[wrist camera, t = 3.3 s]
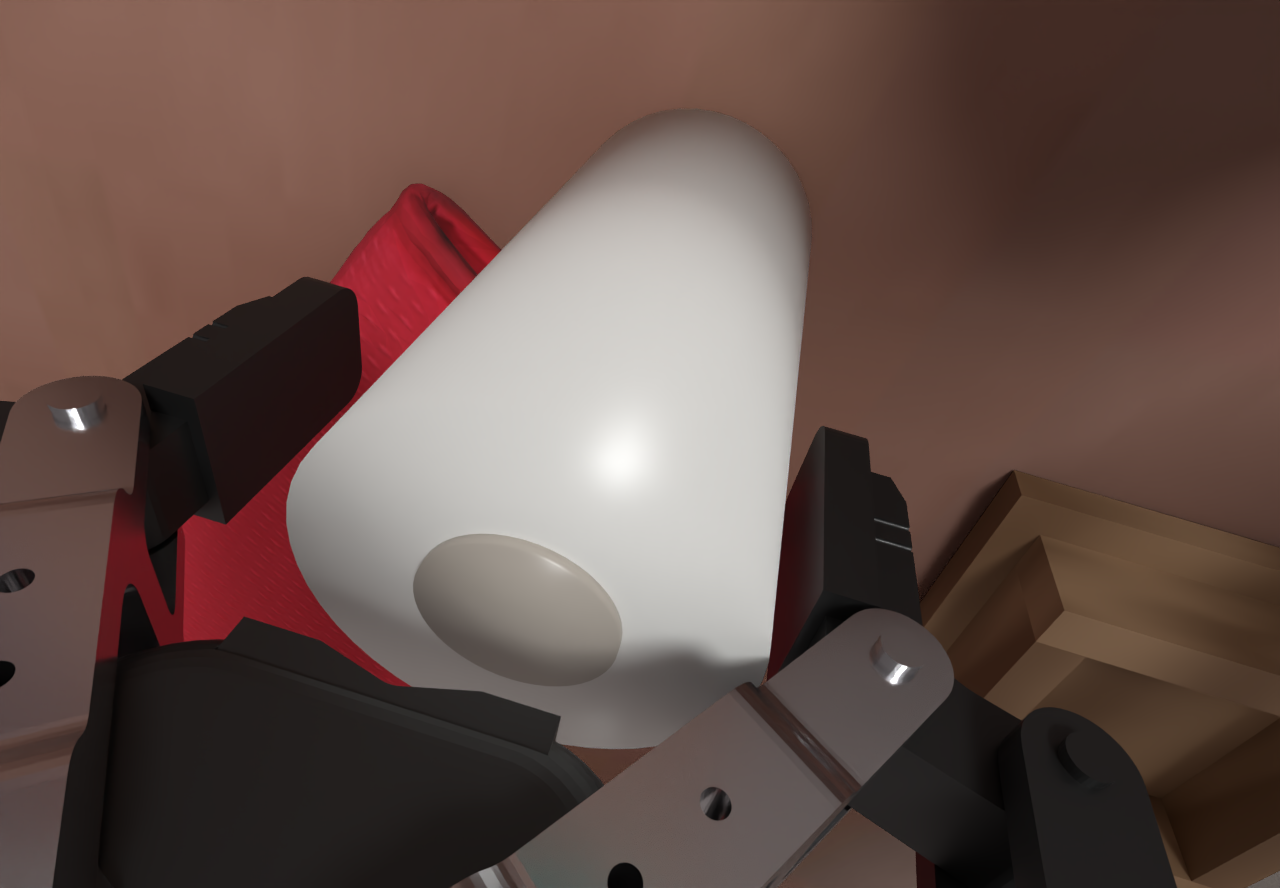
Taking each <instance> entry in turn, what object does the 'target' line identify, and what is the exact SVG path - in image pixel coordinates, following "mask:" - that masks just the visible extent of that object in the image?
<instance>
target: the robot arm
mask: <svg viewBox="0 0 1280 888" xmlns="http://www.w3.org/2000/svg"><path fill="white" fill-rule="evenodd" d="M361 375H362V358H361V343H360V328H359V313H358V301H357V297H356V295H355V293H354V292H353V291H352V290H351V289H349V288H345V287H342V286H338V285H335V284H331V283H328V282H324V281H321V280H317V279H314V278H310V277H303V278H301V279H299V280H297V281H296V282H294V283H293V284H291V285H290V286H288V287H287V288H285V289H284V290H282V291H281V292H279V293H278V294H276V295H275V296H273V297H270V296H268V297H264V298H261V299H258V300H255V301H251V302H248V303H245V304H242V305H238V306H236V307H234V308H233V309H231V310H230V311H228V312H227V313H225V314H223V315H222V316H220V317H219V318H217V319H216V320H214V321H213V324H212V325H209V324H208V325H206V326H205V327H203V328H202V329H200V330H199V331H197V332H195V333H194V334H193V338H190V337H188V338H186V339H185V340H183V341H181V342H180V343H178V344H177V345H175V346H174V347H172V348H170V349H169V350H167V351H166V352H164V353H163V354H161V355H160V356H158V357H156V358H155V359H153V360H152V361H150V362H149V363H147V364H146V365H144V366H142V367H141V368H139V369H138V370H136V371H135V372H133V373H132V374H130V375H128V376H127V377H125V378H124V379H122V380H120V379H117V378H112V377H106V376H80V377H72V378H66V379H61V380H58V381H54V382H50V383H48V384H45V385H42V386H40V387H38V388H36V389H33V390H31V391H30V392H28V393H27V394H25V395H23V396H22V397H21V398H20V399H19V400H17V401H16V402H8V401H0V888H777V887H778V886H779V885H780V884H781V883H782V882H783V881H784V880H785V879H786V878H787V877H788V876H789V875H790V874H791V872H792V871H793V870H794V869H795V868H796V867H797V866H798V865H799V864H800V863H801V862H802V861H803V860H804V859H805V858H806V857H807V856H808V854H809V853H810V852H811V851H812V850H813V849H814V848H815V847H816V846H817V845H818V844H819V843H820V842H821V841H822V840H823V839H824V838H825V836H826V835H827V834H828V833H829V832H830V831H831V830H832V829H833V828H834V827H835V826H836V825H837V824H838V823H839V822H840V821H841V820H842V818H843V817H844V816H845V815H846V814H847V813H848V812H849V811H850V810H851V809H852V808H853V809H854V810H856V811H857V812H859V813H860V814H862V815H863V816H865V817H866V818H868V819H869V820H870V821H872V822H873V823H875V824H876V825H878V826H879V827H881V828H882V829H884V830H885V831H887V832H888V833H890V834H891V835H893V836H894V837H895V838H897V839H898V840H900V841H901V842H903V843H904V844H906V845H907V846H909V847H910V848H912V849H913V850H915V851H916V874H917V888H1177V885H1176V882H1175V879H1174V876H1173V873H1172V869H1171V866H1170V863H1169V860H1168V856H1167V853H1166V850H1165V847H1164V844H1163V840H1162V837H1161V834H1160V831H1159V827H1158V824H1157V821H1156V818H1155V815H1154V811H1153V808H1152V805H1151V802H1150V798H1149V795H1148V792H1147V789H1146V786H1145V783H1144V781H1143V778H1142V776H1141V774H1140V772H1139V770H1138V769H1137V767H1136V765H1135V764H1134V762H1133V761H1132V759H1131V758H1130V756H1129V755H1128V754H1127V753H1126V751H1125V750H1124V749H1123V748H1122V747H1121V746H1120V745H1119V744H1118V743H1117V742H1116V741H1115V740H1114V739H1113V738H1112V737H1111V736H1110V735H1109V734H1108V733H1106V732H1105V731H1104V730H1103V729H1102V728H1100V727H1099V726H1097V725H1096V724H1094V723H1093V722H1091V721H1090V720H1088V719H1086V718H1084V717H1082V716H1081V715H1078V714H1076V713H1074V712H1071V711H1068V710H1064V709H1061V708H1054V707H1044V708H1039V709H1036V710H1034V711H1032V712H1031V713H1029V714H1028V715H1027V716H1026V717H1025V718H1024V719H1023V720H1020V719H1018V718H1016V717H1015V716H1013V715H1011V714H1010V713H1008V712H1006V711H1004V710H1003V709H1001V708H999V707H998V706H996V705H994V704H993V703H991V702H989V701H987V700H986V699H984V698H982V697H981V696H979V695H977V694H976V693H974V692H973V691H971V690H969V689H968V688H966V687H965V686H964V685H962V684H961V683H960V682H959V681H957V680H956V679H955V678H954V673H953V668H952V664H951V661H950V659H949V657H948V655H947V653H946V651H945V650H944V648H943V647H942V645H941V644H940V643H939V642H938V640H937V639H936V638H935V637H934V636H933V635H932V634H931V633H930V632H929V631H928V630H927V629H925V628H924V627H923V624H922V617H921V609H920V602H919V594H918V587H917V579H916V572H915V564H914V557H913V552H911V549H912V542H911V534H910V532H909V531H908V530H909V519H908V512H907V504H906V501H905V500H904V498H903V497H902V495H901V493H900V492H899V490H898V489H897V487H896V485H895V484H894V482H893V481H892V479H891V478H890V477H887V476H883V475H880V474H876V473H873V472H871V469H870V456H869V444H868V440H867V439H866V438H863V437H859V436H856V435H852V434H849V433H845V432H842V431H838V430H835V429H831V428H828V427H825V426H822V427H820V428H819V430H818V431H817V433H816V435H815V437H814V439H813V442H812V444H811V446H810V448H809V450H808V453H807V455H806V457H805V459H804V462H803V464H802V466H801V468H800V471H799V473H798V475H797V477H796V480H795V482H794V484H793V486H792V488H791V491H790V493H789V495H788V498H787V501H786V504H785V511H784V521H783V531H782V541H781V551H780V561H779V571H778V580H777V590H776V600H775V610H774V620H773V630H772V640H771V649H770V657H769V664H768V672H767V682H765V683H764V684H763V685H761V686H759V687H757V688H756V687H755V685H754V684H753V683H751V682H746V683H743V684H741V685H739V686H738V687H736V688H734V689H733V690H732V691H730V692H729V693H727V694H726V695H725V696H723V697H722V698H721V699H719V700H718V701H717V702H715V703H714V704H713V705H711V706H710V707H709V708H707V709H706V710H705V711H703V712H702V713H701V714H699V715H698V716H697V717H695V718H694V719H693V720H691V721H690V722H689V723H687V724H686V725H685V726H683V727H682V728H681V729H679V730H678V731H677V732H675V733H674V734H673V735H671V736H670V737H669V738H667V739H666V740H665V741H663V742H662V743H660V744H659V745H658V746H656V747H655V748H654V749H652V750H651V751H650V752H648V753H647V754H646V755H644V756H643V757H642V758H640V759H639V760H638V761H636V762H635V763H634V764H632V765H631V766H630V767H628V768H627V769H626V770H624V771H623V772H622V773H620V774H619V775H618V776H616V777H615V778H614V779H612V780H611V781H610V782H608V783H607V784H606V785H604V784H603V783H602V782H601V780H600V779H599V778H598V777H597V776H596V775H595V774H594V772H593V771H592V770H591V769H590V768H589V767H588V766H587V765H586V764H585V763H584V762H583V761H582V760H580V759H579V758H578V757H577V756H576V755H574V754H573V753H572V752H571V751H570V750H568V749H567V748H565V747H564V746H562V745H561V744H559V743H557V742H556V736H557V732H558V728H559V723H560V719H561V716H558V715H555V714H552V713H549V712H546V711H543V710H539V709H536V708H533V707H530V706H527V705H524V704H520V703H517V702H514V701H511V700H508V699H505V698H501V697H498V696H495V695H492V694H489V693H486V692H482V691H469V690H454V689H439V688H423V687H408V686H396V685H391V684H388V683H386V682H384V681H382V680H380V679H379V678H377V677H376V676H374V675H373V674H371V673H370V672H368V671H367V670H365V669H364V668H362V667H361V666H359V665H357V664H356V663H354V662H353V661H351V660H350V659H348V658H347V657H345V656H344V655H342V654H341V653H339V652H338V651H336V650H334V649H333V648H331V647H330V646H328V645H327V644H325V643H324V642H322V641H321V640H318V639H314V638H311V637H308V636H305V635H302V634H299V633H295V632H292V631H289V630H286V629H283V628H280V627H276V626H273V625H270V624H267V623H264V622H261V621H257V620H254V619H251V618H248V617H245V616H244V617H243V618H242V619H241V621H240V622H239V623H238V624H237V625H236V626H235V628H234V629H233V630H232V631H231V632H230V634H229V635H228V636H227V637H226V638H225V639H224V640H223V639H211V640H193V641H186V642H184V635H183V620H184V574H185V535H184V532H183V529H182V525H183V524H184V523H185V522H186V521H187V520H189V519H190V518H191V517H192V516H193V515H196V516H199V517H202V518H206V519H209V520H212V521H215V522H219V523H222V524H225V525H226V524H227V523H228V522H229V521H230V520H231V519H232V518H233V517H234V516H235V515H236V514H237V513H238V512H239V511H240V510H241V509H242V508H243V507H244V506H245V505H246V504H247V503H248V502H249V501H250V500H251V499H252V498H253V497H254V496H255V495H256V494H257V493H258V492H259V491H260V490H261V489H262V488H263V487H264V486H266V485H267V484H268V483H269V482H270V481H271V480H272V479H273V478H274V477H275V476H276V475H277V474H278V473H279V472H280V471H281V470H282V469H283V468H284V467H285V466H286V465H287V464H288V463H289V462H290V461H291V460H292V459H293V458H294V457H295V456H296V455H297V454H298V453H299V452H300V451H301V450H302V449H303V448H304V447H305V446H306V445H307V444H308V443H309V442H310V441H311V440H312V439H313V438H314V437H315V436H316V435H317V434H318V433H319V432H320V431H321V430H322V429H323V428H324V427H325V426H326V425H327V424H328V423H329V422H330V421H331V420H332V419H333V418H334V417H335V416H336V415H337V414H338V413H339V412H340V411H341V410H342V409H343V408H344V407H345V406H346V405H347V404H348V403H349V402H350V401H351V400H352V398H353V397H354V395H355V393H356V391H357V389H358V386H359V384H360V380H361Z"/></svg>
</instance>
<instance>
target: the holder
mask: <svg viewBox="0 0 1280 888" xmlns="http://www.w3.org/2000/svg"><path fill="white" fill-rule="evenodd" d="M920 609H921V617H922V624H923V627H924V628H925V629H927V630H928V631H929V632H930V633H931V634H932V635H933V636H934V637H935V638H936V639H937V640H938V642H939V643H940V644H941V645H942V647H943V648H944V650H945V651H946V653H947V655H948V657H949V659H950V661H951V664H952V668H953V673H954V678H955V679H956V680H957V681H959V682H960V683H961V684H962V685H964V686H965V687H966V688H968V689H969V690H971V691H973V692H974V693H976V694H977V695H979V696H981V697H982V698H984V699H986V700H987V701H989V702H991V703H993V704H994V705H996V706H998V707H999V708H1001V709H1003V710H1004V711H1006V712H1008V713H1010V714H1011V715H1013V716H1015V717H1016V718H1018V719H1020V720H1023V719H1024V718H1025V717H1026V716H1027V715H1028V714H1029V713H1031V712H1032V711H1034V710H1036V709H1039V708H1044V707H1054V708H1061V709H1064V710H1068V711H1071V712H1074V713H1076V714H1078V715H1081V716H1082V717H1084V718H1086V719H1088V720H1090V721H1091V722H1093V723H1094V724H1096V725H1097V726H1099V727H1100V728H1102V729H1103V730H1104V731H1105V732H1106V733H1108V734H1109V735H1110V736H1111V737H1112V738H1113V739H1114V740H1115V741H1116V742H1117V743H1118V744H1119V745H1120V746H1121V747H1122V748H1123V749H1124V750H1125V751H1126V753H1127V754H1128V755H1129V756H1130V758H1131V759H1132V761H1133V762H1134V764H1135V765H1136V767H1137V769H1138V770H1139V772H1140V774H1141V776H1142V778H1143V781H1144V783H1145V786H1146V789H1147V792H1148V795H1149V798H1150V802H1151V805H1152V808H1153V811H1154V815H1155V818H1156V821H1157V824H1158V827H1159V831H1160V834H1161V837H1162V840H1163V844H1164V847H1165V850H1166V853H1167V856H1168V860H1169V863H1170V866H1171V869H1172V873H1173V876H1174V879H1175V882H1176V885H1177V888H1246V887H1248V886H1250V885H1252V884H1254V883H1256V882H1258V881H1260V880H1262V879H1264V878H1266V877H1268V876H1270V875H1272V874H1274V873H1276V872H1278V871H1280V548H1279V547H1275V546H1272V545H1269V544H1265V543H1262V542H1258V541H1255V540H1251V539H1248V538H1245V537H1241V536H1238V535H1234V534H1231V533H1227V532H1224V531H1221V530H1217V529H1214V528H1210V527H1207V526H1203V525H1200V524H1197V523H1193V522H1190V521H1186V520H1183V519H1180V518H1176V517H1173V516H1169V515H1166V514H1162V513H1159V512H1156V511H1152V510H1149V509H1145V508H1142V507H1138V506H1135V505H1132V504H1128V503H1125V502H1121V501H1118V500H1114V499H1111V498H1108V497H1104V496H1101V495H1097V494H1094V493H1091V492H1087V491H1084V490H1080V489H1077V488H1073V487H1070V486H1067V485H1063V484H1060V483H1056V482H1053V481H1049V480H1046V479H1043V478H1039V477H1036V476H1032V475H1029V474H1025V473H1022V472H1019V471H1015V470H1014V471H1013V472H1012V474H1011V475H1010V477H1009V478H1008V479H1007V481H1006V482H1005V484H1004V485H1003V486H1002V488H1001V489H1000V491H999V492H998V494H997V495H996V496H995V498H994V499H993V501H992V502H991V503H990V505H989V506H988V508H987V509H986V510H985V512H984V513H983V515H982V516H981V518H980V519H979V520H978V522H977V523H976V525H975V526H974V527H973V529H972V530H971V532H970V533H969V535H968V536H967V537H966V539H965V540H964V542H963V543H962V544H961V546H960V547H959V549H958V550H957V551H956V553H955V554H954V556H953V557H952V559H951V560H950V561H949V563H948V564H947V566H946V567H945V568H944V570H943V571H942V573H941V574H940V576H939V577H938V578H937V580H936V581H935V583H934V584H933V585H932V587H931V588H930V590H929V591H928V592H927V594H926V595H925V597H924V598H923V600H922V601H921V602H920Z"/></svg>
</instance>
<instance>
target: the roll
mask: <svg viewBox="0 0 1280 888" xmlns="http://www.w3.org/2000/svg"><path fill="white" fill-rule="evenodd" d="M811 242H812V220H811V214H810V208H809V203H808V200H807V197H806V193H805V190H804V187H803V185H802V183H801V181H800V179H799V177H798V175H797V173H796V171H795V170H794V168H793V167H792V165H791V163H790V162H789V160H788V159H787V158H786V156H785V155H784V154H783V153H782V152H781V151H780V150H779V148H778V147H777V146H776V145H775V144H774V143H773V142H771V141H770V140H769V139H768V138H767V137H766V136H764V135H763V134H762V133H761V132H759V131H758V130H756V129H754V128H753V127H751V126H750V125H748V124H746V123H744V122H742V121H740V120H738V119H736V118H733V117H731V116H728V115H725V114H721V113H718V112H715V111H709V110H702V109H673V110H665V111H660V112H657V113H654V114H650V115H647V116H644V117H642V118H640V119H638V120H636V121H633V122H631V123H630V124H628V125H626V126H625V127H623V128H622V129H620V130H619V131H617V132H616V133H615V134H614V135H613V136H611V137H610V138H609V139H608V140H607V141H606V142H605V143H604V144H603V145H602V146H601V147H600V148H599V149H598V150H597V151H596V152H595V153H594V154H593V155H592V156H591V157H590V158H589V159H588V160H587V162H586V163H585V164H584V165H583V166H582V167H581V168H580V169H579V170H578V171H577V172H576V173H575V174H574V175H573V176H572V177H571V178H570V179H569V180H568V181H567V182H566V183H565V184H564V186H563V187H562V188H561V189H560V190H559V191H558V192H557V193H556V194H555V195H554V196H553V197H552V198H551V199H550V200H549V201H548V202H547V203H546V204H545V205H544V206H543V207H542V209H541V210H540V211H539V212H538V213H537V214H536V215H535V216H534V217H533V218H532V219H531V220H530V221H529V222H528V223H527V224H526V225H525V226H524V227H523V228H522V229H521V230H520V231H519V233H518V234H517V235H516V236H515V237H514V238H513V239H512V240H511V241H510V242H509V243H508V244H507V245H506V246H505V247H504V248H503V249H502V250H501V251H500V252H499V253H498V254H497V255H496V257H495V258H494V259H493V260H492V261H491V262H490V263H489V264H488V265H487V266H486V267H485V268H484V269H483V270H482V271H481V272H480V273H479V274H478V275H477V276H476V277H475V278H474V280H473V281H472V282H471V283H470V284H469V285H468V286H467V287H466V288H465V289H464V290H463V291H462V292H461V293H460V294H459V295H458V296H457V297H456V298H455V299H454V300H453V301H452V302H451V304H450V305H449V306H448V307H447V308H446V309H445V310H444V311H443V312H442V313H441V314H440V315H439V316H438V317H437V318H436V319H435V320H434V321H433V322H432V323H431V324H430V325H429V326H428V328H427V329H426V330H425V331H424V332H423V333H422V334H421V335H420V336H419V337H418V338H417V339H416V340H415V341H414V342H413V343H412V344H411V345H410V346H409V347H408V348H407V349H406V350H405V352H404V353H403V354H402V355H401V356H400V357H399V358H398V359H397V360H396V361H395V362H394V363H393V364H392V365H391V366H390V367H389V368H388V369H387V370H386V371H385V372H384V373H383V375H382V376H381V377H380V378H379V379H378V380H377V381H376V382H375V383H374V384H373V385H372V386H371V387H370V388H369V389H368V390H367V391H366V392H365V393H364V394H363V395H362V396H361V397H360V399H359V400H358V401H357V402H356V403H355V404H354V405H353V406H352V407H351V408H350V409H349V410H348V411H347V412H346V413H345V414H344V415H343V416H342V417H341V418H340V419H339V420H338V421H337V423H336V424H335V425H334V426H333V427H332V428H331V429H330V430H329V431H328V432H327V433H326V434H325V435H324V436H323V437H322V438H321V439H320V440H319V441H318V442H317V443H316V444H315V446H314V447H313V448H312V449H311V450H310V452H309V453H308V454H307V455H306V457H305V458H304V459H303V460H302V462H301V463H300V465H299V467H298V469H297V471H296V473H295V475H294V477H293V479H292V481H291V485H290V489H289V493H288V498H287V506H286V524H287V530H288V535H289V541H290V545H291V548H292V551H293V554H294V557H295V560H296V563H297V565H298V567H299V569H300V571H301V573H302V575H303V577H304V579H305V581H306V583H307V585H308V587H309V588H310V590H311V591H312V593H313V594H314V596H315V597H316V599H317V600H318V602H319V604H320V605H321V606H322V607H323V609H324V610H325V611H326V612H327V614H328V615H329V616H330V617H331V619H332V620H333V621H334V622H335V624H336V625H337V626H338V627H339V628H340V629H341V630H342V631H343V632H344V633H345V634H346V635H347V636H348V637H349V638H350V639H351V640H352V641H353V642H354V643H355V644H356V645H357V646H358V647H360V648H361V649H362V650H363V651H364V652H365V653H366V654H368V655H369V656H370V657H371V658H372V659H373V660H375V661H376V662H377V663H379V664H380V665H381V666H383V667H384V668H385V669H387V670H388V671H389V672H391V673H392V674H393V675H395V676H396V677H398V678H399V679H401V680H402V681H404V682H405V683H407V684H408V685H410V686H411V687H423V688H439V689H454V690H469V691H482V692H486V693H489V694H492V695H495V696H498V697H501V698H505V699H508V700H511V701H514V702H517V703H520V704H524V705H527V706H530V707H533V708H536V709H539V710H543V711H546V712H549V713H552V714H555V715H558V716H561V719H560V723H559V728H558V732H557V736H556V742H557V743H559V744H564V745H571V746H579V747H586V748H602V749H637V748H645V747H654V746H658V745H659V744H660V743H662V742H663V741H665V740H666V739H667V738H669V737H670V736H671V735H673V734H674V733H675V732H677V731H678V730H679V729H681V728H682V727H683V726H685V725H686V724H687V723H689V722H690V721H691V720H693V719H694V718H695V717H697V716H698V715H699V714H701V713H702V712H703V711H705V710H706V709H707V708H709V707H710V706H711V705H713V704H714V703H715V702H717V701H718V700H719V699H721V698H722V697H723V696H725V695H726V694H727V693H729V692H730V691H732V690H733V689H734V688H736V687H738V686H739V685H741V684H743V683H746V682H751V683H753V684H754V685H755V687H756V688H757V687H759V686H760V684H761V683H762V681H763V678H764V675H765V672H766V669H767V666H768V664H769V657H770V649H771V640H772V630H773V620H774V610H775V600H776V590H777V580H778V571H779V561H780V551H781V541H782V531H783V521H784V511H785V501H786V491H787V481H788V471H789V461H790V451H791V441H792V431H793V421H794V411H795V401H796V391H797V381H798V371H799V361H800V351H801V341H802V331H803V321H804V311H805V301H806V291H807V282H808V272H809V262H810V252H811Z"/></svg>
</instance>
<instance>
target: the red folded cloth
mask: <svg viewBox="0 0 1280 888" xmlns="http://www.w3.org/2000/svg"><path fill="white" fill-rule="evenodd" d="M500 251H501V249H500V248H499V247H498V246H497V245H496V244H495V243H494V242H493V241H492V240H491V239H490V238H489V237H488V236H487V235H486V234H485V233H484V232H483V230H482V229H481V228H480V227H479V226H478V225H477V224H476V223H475V222H474V221H473V220H472V219H471V218H470V217H469V216H468V215H467V214H466V212H465V211H464V210H463V209H461V208H460V207H459V206H458V205H457V204H456V203H455V202H454V201H452V200H451V199H450V198H448V197H447V196H446V195H444V194H443V193H441V192H439V191H437V190H435V189H433V188H430V187H428V186H426V185H423V184H411V185H409V186H408V187H407V188H406V189H404V190H403V191H402V193H401V195H400V196H399V198H398V200H397V201H396V203H395V204H394V206H393V207H392V208H391V210H390V211H389V212H388V213H386V214H385V215H384V216H383V217H382V218H381V219H380V220H379V221H378V222H377V223H376V224H375V225H374V226H373V227H372V228H371V229H370V230H369V231H368V232H367V234H366V235H365V237H364V238H363V239H362V241H361V242H360V243H359V244H358V245H357V246H356V247H355V249H354V250H353V251H352V253H351V254H350V256H349V257H348V258H347V260H346V261H345V263H344V264H343V266H342V267H341V268H340V270H339V271H338V273H337V274H336V275H335V277H334V278H333V279H332V281H331V282H330V283H331V284H335V285H338V286H342V287H345V288H349V289H351V290H352V291H353V292H354V293H355V295H356V297H357V301H358V313H359V328H360V343H361V358H362V375H361V380H360V384H359V386H358V389H357V391H356V393H355V395H354V397H353V398H352V400H351V401H350V402H349V403H348V404H347V405H346V406H345V407H344V408H343V409H342V410H341V411H340V412H339V413H338V414H337V415H336V416H335V417H334V418H333V419H332V420H331V421H330V422H329V423H328V424H327V425H326V426H325V427H324V428H323V429H322V430H321V431H320V432H319V433H318V434H317V435H316V436H315V437H314V438H313V439H312V440H311V441H310V442H309V443H308V444H307V445H306V446H305V447H304V448H303V449H302V450H301V451H300V452H299V453H298V454H297V455H296V456H295V457H294V458H293V459H292V460H291V461H290V462H289V463H288V464H287V465H286V466H285V467H284V468H283V469H282V470H281V471H280V472H279V473H278V474H277V475H276V476H275V477H274V478H273V479H272V480H271V481H270V482H269V483H268V484H267V485H266V486H264V487H263V488H262V489H261V490H260V491H259V492H258V493H257V494H256V495H255V496H254V497H253V498H252V499H251V500H250V501H249V502H248V503H247V504H246V505H245V506H244V507H243V508H242V509H241V510H240V511H239V512H238V513H237V514H236V515H235V516H234V517H233V518H232V519H231V520H230V521H229V522H228V523H227V524H226V525H225V524H222V523H219V522H215V521H212V520H209V519H206V518H202V517H199V516H196V515H193V516H192V517H191V518H190V519H189V520H187V521H186V522H185V523H184V524H183V525H182V529H183V532H184V535H185V574H184V620H183V635H184V642H186V641H193V640H211V639H223V640H224V639H225V638H226V637H227V636H228V635H229V634H230V632H231V631H232V630H233V629H234V628H235V626H236V625H237V624H238V623H239V622H240V621H241V619H242V618H243V617H244V616H245V617H248V618H251V619H254V620H257V621H261V622H264V623H267V624H270V625H273V626H276V627H280V628H283V629H286V630H289V631H292V632H295V633H299V634H302V635H305V636H308V637H311V638H314V639H318V640H321V641H322V642H324V643H325V644H327V645H328V646H330V647H331V648H333V649H334V650H336V651H338V652H339V653H341V654H342V655H344V656H345V657H347V658H348V659H350V660H351V661H353V662H354V663H356V664H357V665H359V666H361V667H362V668H364V669H365V670H367V671H368V672H370V673H371V674H373V675H374V676H376V677H377V678H379V679H380V680H382V681H384V682H386V683H388V684H391V685H396V686H408V687H411V686H410V685H408V684H407V683H405V682H404V681H402V680H401V679H399V678H398V677H396V676H395V675H393V674H392V673H391V672H389V671H388V670H387V669H385V668H384V667H383V666H381V665H380V664H379V663H377V662H376V661H375V660H373V659H372V658H371V657H370V656H369V655H368V654H366V653H365V652H364V651H363V650H362V649H361V648H360V647H358V646H357V645H356V644H355V643H354V642H353V641H352V640H351V639H350V638H349V637H348V636H347V635H346V634H345V633H344V632H343V631H342V630H341V629H340V628H339V627H338V626H337V625H336V624H335V622H334V621H333V620H332V619H331V617H330V616H329V615H328V614H327V612H326V611H325V610H324V609H323V607H322V606H321V605H320V604H319V602H318V600H317V599H316V597H315V596H314V594H313V593H312V591H311V590H310V588H309V587H308V585H307V583H306V581H305V579H304V577H303V575H302V573H301V571H300V569H299V567H298V565H297V563H296V560H295V557H294V554H293V551H292V548H291V545H290V541H289V535H288V530H287V524H286V506H287V498H288V493H289V489H290V485H291V481H292V479H293V477H294V475H295V473H296V471H297V469H298V467H299V465H300V463H301V462H302V460H303V459H304V458H305V457H306V455H307V454H308V453H309V452H310V450H311V449H312V448H313V447H314V446H315V444H316V443H317V442H318V441H319V440H320V439H321V438H322V437H323V436H324V435H325V434H326V433H327V432H328V431H329V430H330V429H331V428H332V427H333V426H334V425H335V424H336V423H337V421H338V420H339V419H340V418H341V417H342V416H343V415H344V414H345V413H346V412H347V411H348V410H349V409H350V408H351V407H352V406H353V405H354V404H355V403H356V402H357V401H358V400H359V399H360V397H361V396H362V395H363V394H364V393H365V392H366V391H367V390H368V389H369V388H370V387H371V386H372V385H373V384H374V383H375V382H376V381H377V380H378V379H379V378H380V377H381V376H382V375H383V373H384V372H385V371H386V370H387V369H388V368H389V367H390V366H391V365H392V364H393V363H394V362H395V361H396V360H397V359H398V358H399V357H400V356H401V355H402V354H403V353H404V352H405V350H406V349H407V348H408V347H409V346H410V345H411V344H412V343H413V342H414V341H415V340H416V339H417V338H418V337H419V336H420V335H421V334H422V333H423V332H424V331H425V330H426V329H427V328H428V326H429V325H430V324H431V323H432V322H433V321H434V320H435V319H436V318H437V317H438V316H439V315H440V314H441V313H442V312H443V311H444V310H445V309H446V308H447V307H448V306H449V305H450V304H451V302H452V301H453V300H454V299H455V298H456V297H457V296H458V295H459V294H460V293H461V292H462V291H463V290H464V289H465V288H466V287H467V286H468V285H469V284H470V283H471V282H472V281H473V280H474V278H475V277H476V276H477V275H478V274H479V273H480V272H481V271H482V270H483V269H484V268H485V267H486V266H487V265H488V264H489V263H490V262H491V261H492V260H493V259H494V258H495V257H496V255H497V254H498V253H499V252H500Z"/></svg>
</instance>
